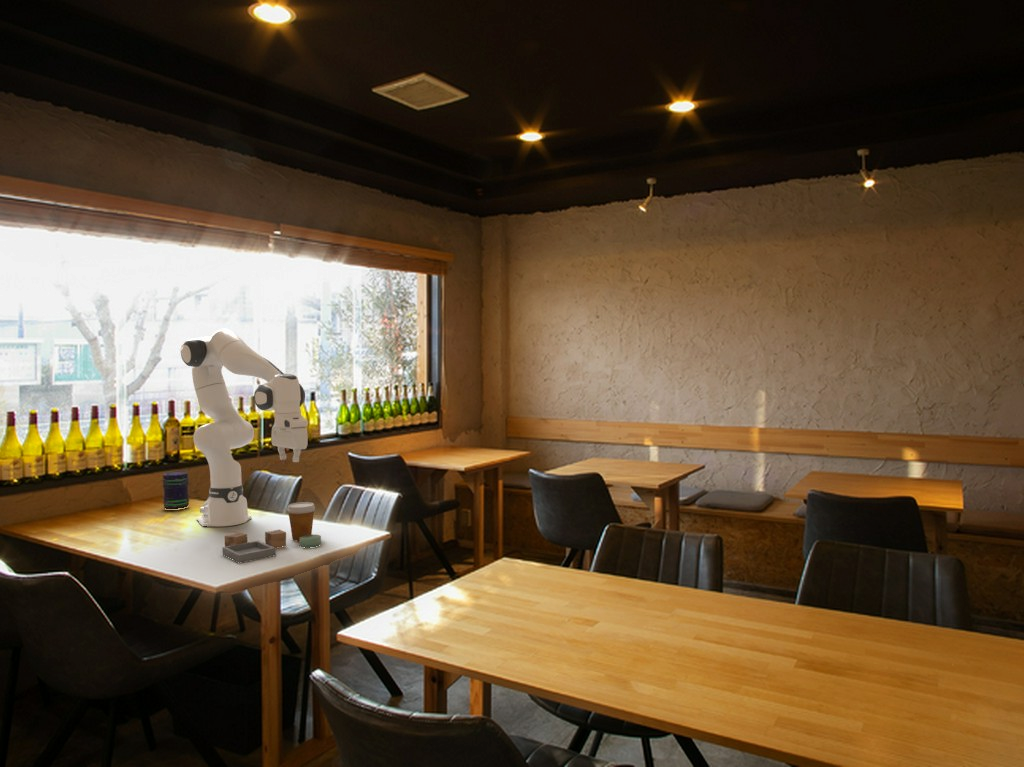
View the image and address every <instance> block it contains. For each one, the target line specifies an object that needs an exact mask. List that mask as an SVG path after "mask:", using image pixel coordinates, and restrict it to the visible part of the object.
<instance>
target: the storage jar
mask: <svg viewBox="0 0 1024 767" xmlns="http://www.w3.org/2000/svg"><path fill="white" fill-rule="evenodd" d="M189 484H190V483H189V473H188V471H180V470H176V471H168V472H164V473H162V487H163V497H162V498H163V509H164V508H166V509H178V508H184V507H187V506H188V505H189V504H190V494H189ZM189 506H190V505H189Z"/></svg>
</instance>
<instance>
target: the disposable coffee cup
mask: <svg viewBox="0 0 1024 767" xmlns="http://www.w3.org/2000/svg"><path fill="white" fill-rule="evenodd" d="M315 510H316V507H315V504H314V503H313V502H307V501H305V502H294V503H290V504H289V505H288V506H287V509H286V511H287V513H288V517H289V526H290V532H291V536H292V541H294V540H297V541H296V542H300V539H299V538H300V537H301V536H304V535H313V533H312V532H313V524H314V515H315V514H314V513H315Z"/></svg>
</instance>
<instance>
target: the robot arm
mask: <svg viewBox="0 0 1024 767" xmlns="http://www.w3.org/2000/svg"><path fill="white" fill-rule="evenodd" d="M182 343H183V344H182V345H181V347H180V356H181V359H182V362H183V363H184V364H185V365H186V366H188V367H192V368H191V374H192V381H193V382H192V383H193V387H194V388H193V389H194V391H195V396H196V398H197V402H198V405H199V408H200V410H201V412H202V413H203V414H205V415H207V416H208V417H210V418H211V419H212V421H213V422H210V423H206V424H203V425H201V426H199V427H197V428H196V429H195V430H194V432H193V436H192V438H193V439H192V440H193V444H194V446H195V448H196V449H197V450H198V451H200V452H201V453H202V454H203V455H204V457H205V459H206V460H207V463H208V466H209V475H210V487H209V490H208V497H207V500H205V501H204V503H203V505H202V506H201V507H199V513H200V514H202V515H199V516H197V517H196V519H197V520H198V521H199V522H198V521H197V520H196V521H197V522H198V523H199V525H200V526H201V525H202V526H201V527H203V526H207V527H231V526H236V525H242V524H245V523H246V522H247V521H248V520H251V519H252V515H249V512H248V511H249V510H248V501H247V498H246V497H245V496H244V495H243V494H244V487H243V486H244V485H243V484H242V466H241V464H240V463H239V461H237V460H235V459H234V457H233V455H232V451H231V450H233V449H239V448H240V449H241V448H243V447H245V446H247V445H249V444H250V443H252V441H253V440H254V437H255V430H254V426H253V425H252V423H251V422H249V421H247V420H246V419H244V418H243V417H242V416H241V415H240V413H239V412H238V411H237V410H236V408H235V405H233V403H232V401H231V398H230V395H229V391H228V388H227V385H226V383H225V379H224V376H223V374H222V369H223V367H224V368H225V369H226V370H228V371H229V372H230V373H232V374H235V375H238V376H239V375H240V376H248V377H256V378H259V379H262V380H265V382H266V383H263V384H260V385H258V386H257V387H256V388H255V390H254V394H253V400H254V404H255V406H256V407H257V409H258V410H260V411H264V412H271V411H272V412H273V411H274V413H273V414H274V423H273V425H272V428H271V437H270V438H271V445H272V446H274V447H277V451H278V453H279V460H281V461H282V460H283V461H285V460H287V453H286V451H285V449H291V450H293V451H292V452H293V456H292V462H293V463H299V462H300V456H301V453H302V450H306V449H307V447H308V441H309V440H308V437H309V436H308V433H309V432H308V428H307V427H309V426H308V425H309V420H307V419H306V418H305V417H304V416H303V415H302V410H301V407H302V405H303V404H304V402H305V400H306V392H305V389H304V387H303V386H302V385H301V384H300V381H299V379H298V376H297V375H294V374H290V373H284V372H283V371H282V370H280V369H279V368H278V367H277V366H275V364H274V363H272V362H271V361H270V360H268V359H267V358H265V357H263V356H262V355H261V354H259V353H257V352H256V351H255V350H253V349H252V348H251V347H250V346H249V345H248V344H247V343H246V342H245V341H244V340H243V339H242V338H241V337H240V336H239V335H237V333H235V332H233V331H232V330H230V329H227V328H222V329H218V330H216V331H215V332H214V333H212V335H209V336H203V337H198V338H195V337H194V338H190V339H187V340H185V341H184V342H182Z"/></svg>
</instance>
